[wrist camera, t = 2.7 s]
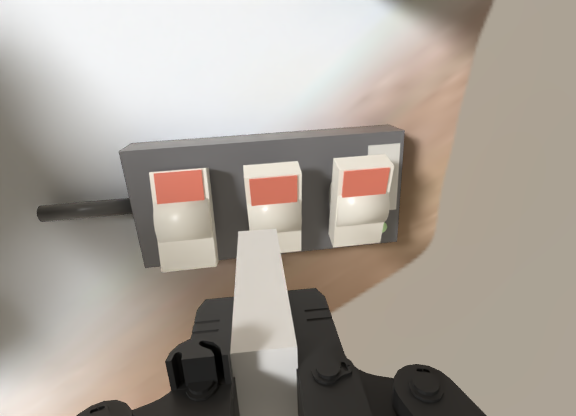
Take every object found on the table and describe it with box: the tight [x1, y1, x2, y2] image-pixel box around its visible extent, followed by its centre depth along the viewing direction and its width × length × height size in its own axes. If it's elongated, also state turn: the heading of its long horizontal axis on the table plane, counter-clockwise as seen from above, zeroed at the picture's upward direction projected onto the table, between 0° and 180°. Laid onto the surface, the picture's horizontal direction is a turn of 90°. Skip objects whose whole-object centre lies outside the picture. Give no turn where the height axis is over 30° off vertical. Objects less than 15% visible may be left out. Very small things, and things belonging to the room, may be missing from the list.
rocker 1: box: [149, 168, 219, 273], centre depth 24 cm, size 4×7×3 cm, turn 3°
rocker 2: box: [243, 161, 302, 253], centre depth 25 cm, size 4×7×3 cm, turn 3°
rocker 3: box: [328, 154, 394, 248], centre depth 25 cm, size 4×7×3 cm, turn 3°
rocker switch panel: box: [37, 125, 405, 268], centre depth 27 cm, size 27×9×3 cm, turn 93°
